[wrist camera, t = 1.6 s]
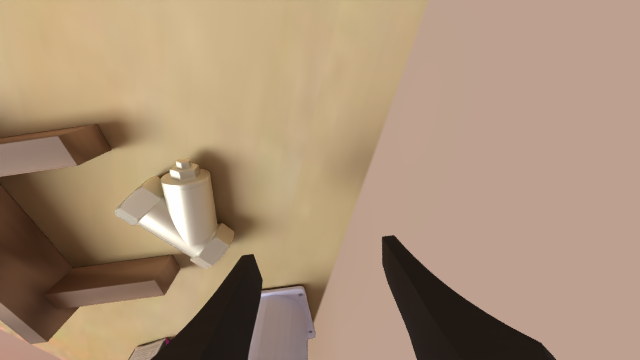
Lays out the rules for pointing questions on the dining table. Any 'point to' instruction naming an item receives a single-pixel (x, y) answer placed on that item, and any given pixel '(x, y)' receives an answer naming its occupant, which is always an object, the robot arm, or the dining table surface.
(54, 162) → the fitting jig
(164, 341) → the candy bar box
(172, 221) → the pipe fitting
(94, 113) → the dining table surface
